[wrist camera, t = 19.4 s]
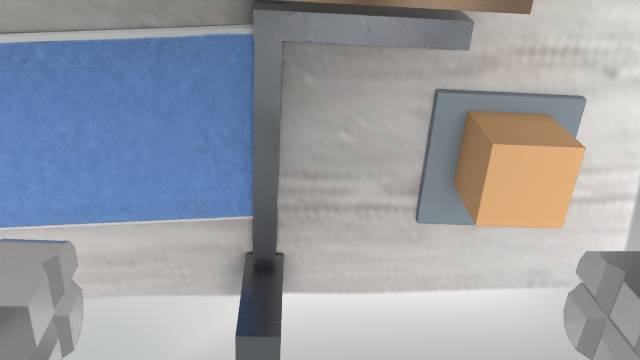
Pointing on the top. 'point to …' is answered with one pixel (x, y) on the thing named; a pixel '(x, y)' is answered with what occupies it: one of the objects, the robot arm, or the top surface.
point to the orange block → (517, 169)
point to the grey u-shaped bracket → (269, 33)
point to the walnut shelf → (445, 4)
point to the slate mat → (446, 138)
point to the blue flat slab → (126, 126)
